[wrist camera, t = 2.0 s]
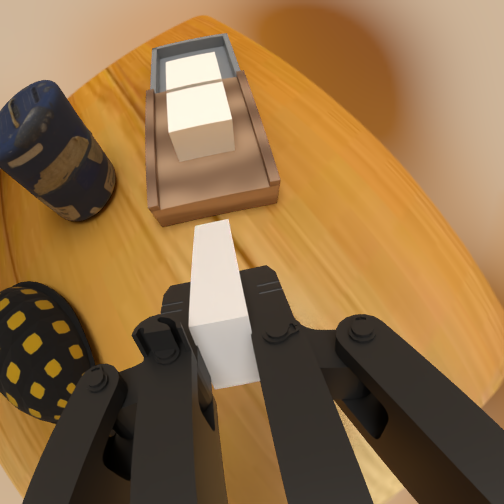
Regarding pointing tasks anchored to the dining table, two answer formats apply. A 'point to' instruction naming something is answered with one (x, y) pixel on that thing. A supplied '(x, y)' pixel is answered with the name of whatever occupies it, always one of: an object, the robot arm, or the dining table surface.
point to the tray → (192, 48)
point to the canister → (54, 152)
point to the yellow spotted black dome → (40, 350)
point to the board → (209, 163)
